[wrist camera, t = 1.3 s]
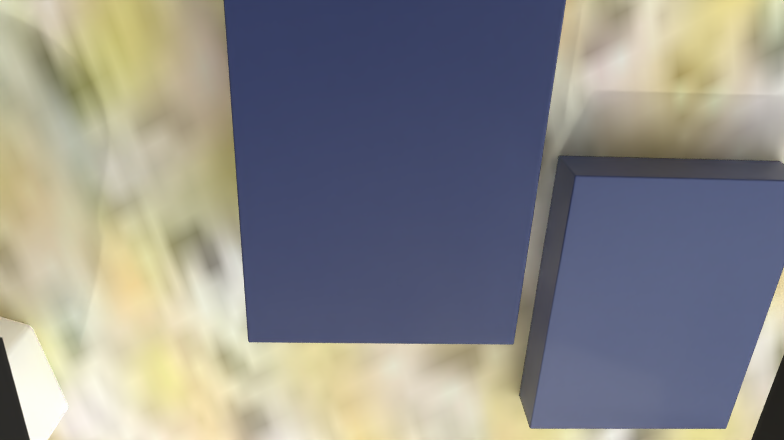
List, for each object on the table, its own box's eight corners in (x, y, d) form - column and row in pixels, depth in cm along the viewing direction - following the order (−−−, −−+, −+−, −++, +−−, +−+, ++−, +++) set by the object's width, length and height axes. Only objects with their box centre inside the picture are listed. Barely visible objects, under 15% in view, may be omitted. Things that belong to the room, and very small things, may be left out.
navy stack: (534, 132, 26) (569, 175, 22) (739, 137, 27) (815, 181, 22) (501, 361, 32) (524, 434, 27) (673, 362, 32) (724, 434, 28)
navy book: (240, -67, 18) (218, -65, 15) (543, -54, 19) (574, -50, 16) (261, 294, 23) (248, 342, 21) (497, 297, 24) (513, 345, 21)
